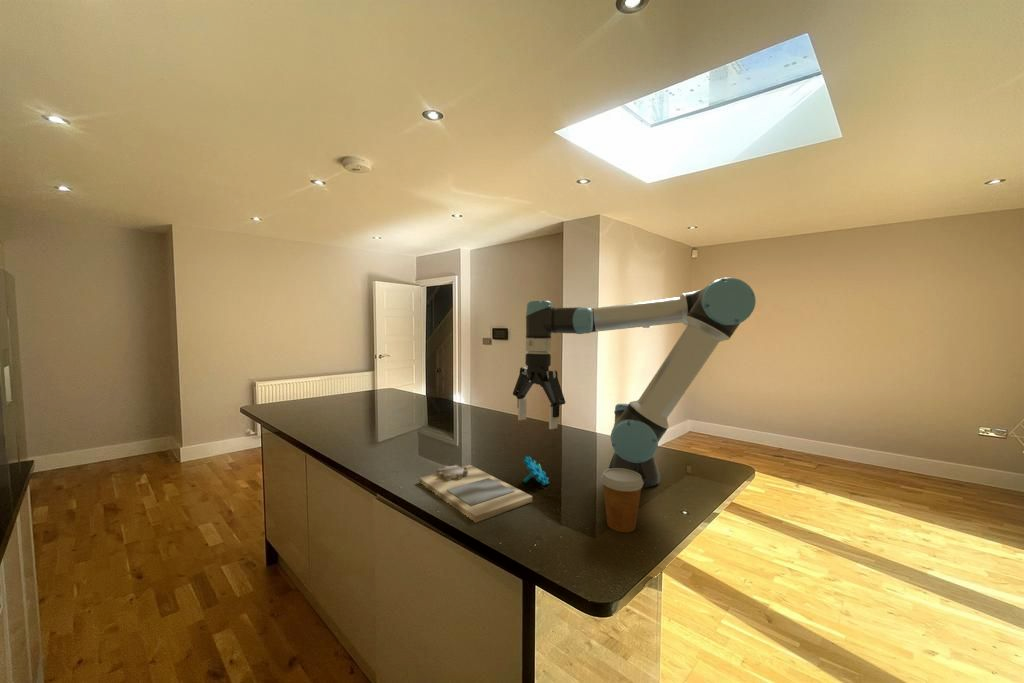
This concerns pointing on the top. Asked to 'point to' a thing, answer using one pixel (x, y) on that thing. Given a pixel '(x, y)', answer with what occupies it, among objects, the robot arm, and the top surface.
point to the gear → (535, 471)
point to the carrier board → (474, 491)
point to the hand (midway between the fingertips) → (536, 423)
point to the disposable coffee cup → (621, 498)
